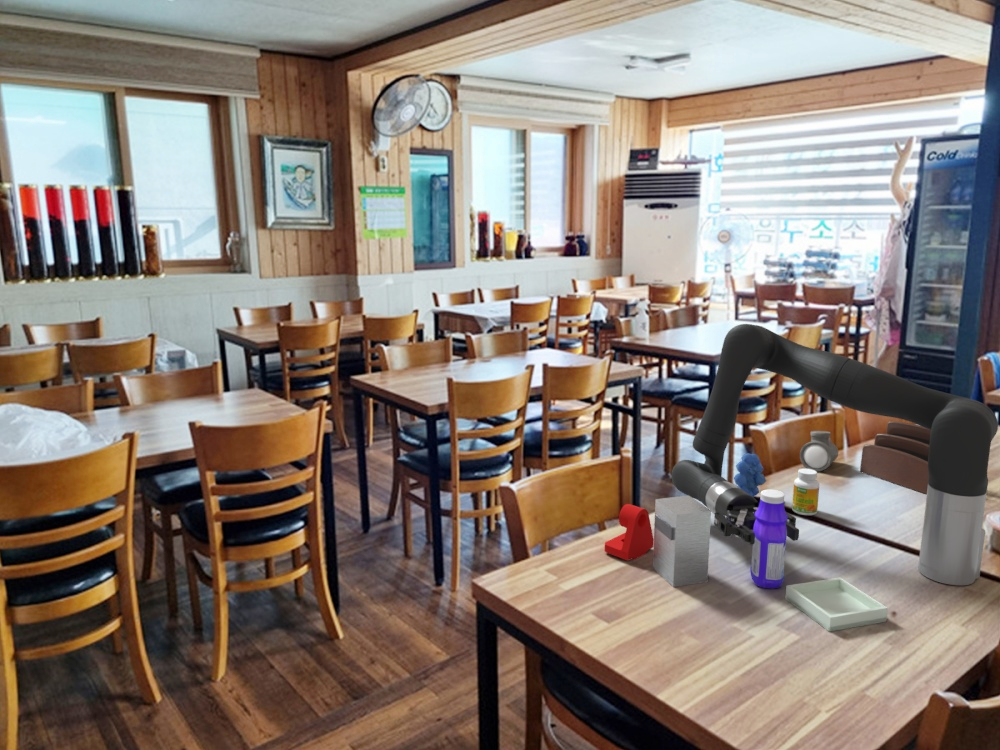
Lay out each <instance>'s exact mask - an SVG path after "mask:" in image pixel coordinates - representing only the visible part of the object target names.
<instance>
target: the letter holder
mask: <svg viewBox="0 0 1000 750" xmlns="http://www.w3.org/2000/svg"><path fill="white" fill-rule="evenodd" d="M930 434H931V430H929V429H927V428H925V427H922V426H920V425H918V424H915V423H911V422H903V421H896V420H894V421H893V420H890V421H888V422H887V424H886V433H877V434H875V436H874V443H873V444H864V445H863V447H862V450H861V460H860V467H859V468H860V469H859V471H860V473H862V472H863V474H865V475H868V476H871V477H873V478H877V479H880V480H884V481H886V482H889V483H892V484H895V485H898V486H900V487H903V488H907V489H910V490H912V491H915V492H918V493H921V494H923V495H926V496H927V488H928V479H929V473H928V455H929V444H930Z"/></svg>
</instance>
